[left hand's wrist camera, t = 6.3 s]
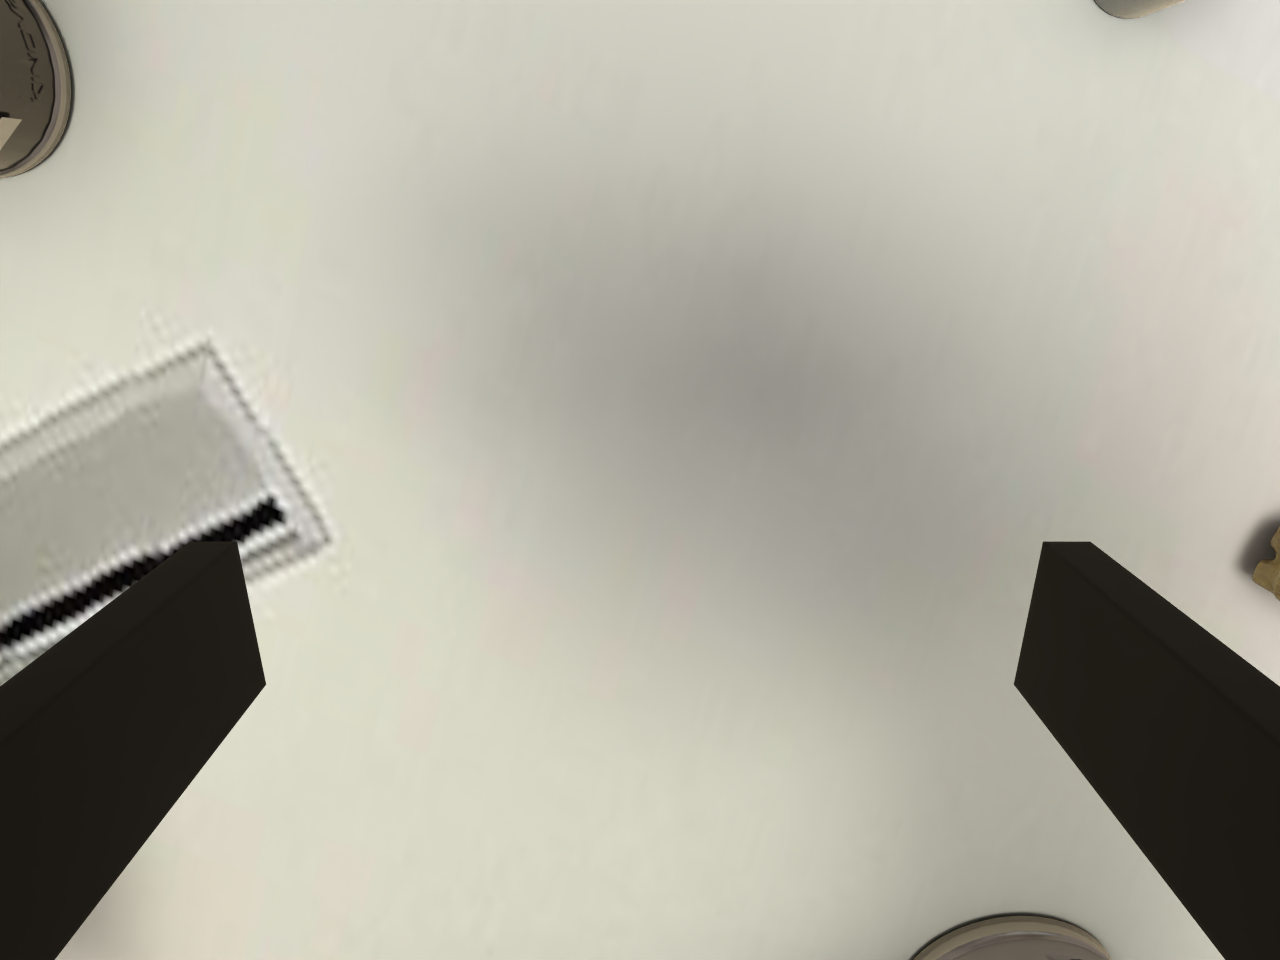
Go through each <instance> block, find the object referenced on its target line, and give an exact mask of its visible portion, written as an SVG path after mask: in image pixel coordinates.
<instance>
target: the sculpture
mask: <svg viewBox="0 0 1280 960" xmlns="http://www.w3.org/2000/svg"><path fill="white" fill-rule="evenodd" d="M1271 546H1272V547H1273V548H1274V549H1275V552H1276V558H1275V560H1269V559H1264V560H1261V561H1260V562H1259V563H1258V565H1257V567H1256V569H1255V571H1254V574H1253V577H1252V579H1253V581H1254V582H1256V583H1257V584H1258V585H1260V586H1262V587H1263V588H1265V589H1267V590H1268V591H1270V592H1272V593H1274V595H1275V596H1276V598H1277V599H1278V600H1280V526H1279V528H1278V530H1277V532H1276V533H1275V535H1274V536H1273V538H1272V540H1271Z"/></svg>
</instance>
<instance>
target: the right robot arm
mask: <svg viewBox="0 0 1280 960" xmlns="http://www.w3.org/2000/svg"><path fill="white" fill-rule="evenodd" d="M70 103H71V82H70V73H69V67H68V62H67V58H66V54H65V51H64V48H63V45H62V42H61V39H60V37H59V35H58V33H57V30H56V28H55V26H54V24H53V22H52V20H51V18H50V17H49V15H48V13H47V12H46V10H45V8H44V7H43V5H42V4H41V3H40V1H39V0H0V178H5V177H10V176H14V175H18V174H20V173H23V172H25V171H28V170H29V169H31V168H33V167H35V166H36V165H38V164H39V163H40V162H42V161H43V160H44V159H45V158H46V157H47V156H48V155H49V154H50V153H51V152H52V150H53V149H54V148H55V146H56V145H57V143H58V142H59V140H60V138H61V136H62V134H63V132H64V129H65V126H66V123H67V120H68V116H69V111H70Z"/></svg>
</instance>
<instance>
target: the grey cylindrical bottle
mask: <svg viewBox="0 0 1280 960" xmlns="http://www.w3.org/2000/svg"><path fill="white" fill-rule="evenodd" d="M1183 1H1186V0H1095V2H1096V3H1097V4H1098V5H1099V6H1100V7H1101V8H1102V9H1103V10H1104V11H1106V12H1107V13H1109V14H1111V15H1113V16H1116V17H1120V18H1138V17H1142V16H1146V15H1148V14H1151V13H1154V12H1156V11H1159V10H1162V9H1164V8H1167V7H1170V6H1173V5H1175V4H1178V3H1181V2H1183Z"/></svg>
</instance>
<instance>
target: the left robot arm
mask: <svg viewBox="0 0 1280 960" xmlns="http://www.w3.org/2000/svg"><path fill="white" fill-rule="evenodd" d="M265 685H266V682H265V677H264V672H263V667H262V662H261V657H260V652H259V648H258V643H257V638H256V633H255V628H254V623H253V618H252V613H251V608H250V604H249V599H248V594H247V589H246V584H245V579H244V574H243V569H242V564H241V560H240V555H239V550H238V545H237V542H189V543H188V544H186V545H185V546H184V547H182V548H181V549H180V550H178V551H177V552H176V553H174V554H173V555H172V556H171V557H169V558H168V559H167V560H165V561H164V562H163V563H161V564H160V565H159V566H157V567H156V568H155V569H154V570H152V571H151V572H150V573H148V574H147V575H146V576H144V577H143V578H142V579H140V580H139V581H138V582H137V583H135V584H134V585H133V586H131V587H130V588H129V589H127V590H126V591H125V592H123V593H122V594H121V595H120V596H118V597H117V598H116V599H114V600H113V601H112V602H110V603H109V604H108V605H106V606H105V607H104V608H102V609H101V610H100V611H99V612H97V613H96V614H95V615H93V616H92V617H91V618H89V619H88V620H87V621H85V622H84V623H83V624H82V625H80V626H79V627H78V628H76V629H75V630H74V631H72V632H71V633H70V634H68V635H67V636H66V637H65V638H63V639H62V640H61V641H59V642H58V643H57V644H55V645H54V646H53V647H51V648H50V649H49V650H48V651H46V652H45V653H44V654H42V655H41V656H40V657H38V658H37V659H36V660H34V661H33V662H32V663H31V664H29V665H28V666H27V667H25V668H24V669H23V670H21V671H20V672H19V673H17V674H16V675H15V676H14V677H12V678H11V679H10V680H8V681H7V682H6V683H4V684H3V685H2V686H0V960H55V959H56V957H57V956H58V955H59V953H60V952H61V951H62V949H63V948H64V947H65V946H66V944H67V943H68V942H69V940H70V939H71V938H72V936H73V935H74V934H75V933H76V931H77V930H78V929H79V927H80V926H81V925H82V923H83V922H84V921H85V920H86V918H87V917H88V916H89V914H90V913H91V912H92V910H93V909H94V908H95V907H96V905H97V904H98V903H99V901H100V900H101V899H102V897H103V896H104V895H105V894H106V892H107V891H108V890H109V888H110V887H111V886H112V884H113V883H114V882H115V880H116V879H117V878H118V877H119V875H120V874H121V873H122V871H123V870H124V869H125V867H126V866H127V865H128V864H129V862H130V861H131V860H132V858H133V857H134V856H135V854H136V853H137V852H138V851H139V849H140V848H141V847H142V845H143V844H144V843H145V841H146V840H147V839H148V838H149V836H150V835H151V834H152V832H153V831H154V830H155V828H156V827H157V826H158V825H159V823H160V822H161V821H162V819H163V818H164V817H165V815H166V814H167V813H168V811H169V810H170V809H171V808H172V806H173V805H174V804H175V802H176V801H177V800H178V798H179V797H180V796H181V795H182V793H183V792H184V791H185V789H186V788H187V787H188V785H189V784H190V783H191V782H192V780H193V779H194V778H195V776H196V775H197V774H198V772H199V771H200V770H201V769H202V767H203V766H204V765H205V763H206V762H207V761H208V759H209V758H210V757H211V756H212V754H213V753H214V752H215V750H216V749H217V748H218V746H219V745H220V744H221V743H222V741H223V740H224V739H225V737H226V736H227V735H228V733H229V732H230V731H231V729H232V728H233V727H234V726H235V724H236V723H237V722H238V720H239V719H240V718H241V716H242V715H243V714H244V713H245V711H246V710H247V709H248V707H249V706H250V705H251V703H252V702H253V701H254V700H255V698H256V697H257V696H258V694H259V693H260V692H261V690H262V689H263V688H264V687H265ZM1014 685H1015V687H1016V688H1017V689H1018V690H1019V692H1020V693H1021V694H1022V696H1023V697H1024V698H1025V700H1026V701H1027V702H1028V703H1029V705H1030V706H1031V707H1032V709H1033V710H1034V711H1035V713H1036V714H1037V715H1038V716H1039V718H1040V719H1041V720H1042V722H1043V723H1044V724H1045V726H1046V727H1047V728H1048V729H1049V731H1050V732H1051V733H1052V735H1053V736H1054V737H1055V739H1056V740H1057V741H1058V743H1059V744H1060V745H1061V746H1062V748H1063V749H1064V750H1065V752H1066V753H1067V754H1068V756H1069V757H1070V758H1071V759H1072V761H1073V762H1074V763H1075V765H1076V766H1077V767H1078V769H1079V770H1080V771H1081V772H1082V774H1083V775H1084V776H1085V778H1086V779H1087V780H1088V782H1089V783H1090V784H1091V785H1092V787H1093V788H1094V789H1095V791H1096V792H1097V793H1098V795H1099V796H1100V797H1101V798H1102V800H1103V801H1104V802H1105V804H1106V805H1107V806H1108V808H1109V809H1110V810H1111V811H1112V813H1113V814H1114V815H1115V817H1116V818H1117V819H1118V821H1119V822H1120V823H1121V825H1122V826H1123V827H1124V828H1125V830H1126V831H1127V832H1128V834H1129V835H1130V836H1131V838H1132V839H1133V840H1134V841H1135V843H1136V844H1137V845H1138V847H1139V848H1140V849H1141V851H1142V852H1143V853H1144V854H1145V856H1146V857H1147V858H1148V860H1149V861H1150V862H1151V864H1152V865H1153V866H1154V867H1155V869H1156V870H1157V871H1158V873H1159V874H1160V875H1161V877H1162V878H1163V879H1164V880H1165V882H1166V883H1167V884H1168V886H1169V887H1170V888H1171V890H1172V891H1173V892H1174V894H1175V895H1176V896H1177V897H1178V899H1179V900H1180V901H1181V903H1182V904H1183V905H1184V907H1185V908H1186V909H1187V910H1188V912H1189V913H1190V914H1191V916H1192V917H1193V918H1194V920H1195V921H1196V922H1197V923H1198V925H1199V926H1200V927H1201V929H1202V930H1203V931H1204V933H1205V934H1206V935H1207V936H1208V938H1209V939H1210V940H1211V942H1212V943H1213V944H1214V946H1215V947H1216V948H1217V949H1218V951H1219V952H1220V953H1221V955H1222V956H1223V957H1224V959H1225V960H1280V686H1278V685H1277V684H1276V683H1274V682H1273V681H1272V680H1270V679H1269V678H1268V677H1266V676H1265V675H1264V674H1263V673H1261V672H1260V671H1259V670H1257V669H1256V668H1255V667H1253V666H1252V665H1251V664H1249V663H1248V662H1247V661H1246V660H1244V659H1243V658H1242V657H1240V656H1239V655H1238V654H1236V653H1235V652H1234V651H1232V650H1231V649H1230V648H1229V647H1227V646H1226V645H1225V644H1223V643H1222V642H1221V641H1219V640H1218V639H1217V638H1215V637H1214V636H1213V635H1212V634H1210V633H1209V632H1208V631H1206V630H1205V629H1204V628H1202V627H1201V626H1200V625H1198V624H1197V623H1196V622H1195V621H1193V620H1192V619H1191V618H1189V617H1188V616H1187V615H1185V614H1184V613H1183V612H1181V611H1180V610H1179V609H1178V608H1176V607H1175V606H1174V605H1172V604H1171V603H1170V602H1168V601H1167V600H1166V599H1164V598H1163V597H1162V596H1160V595H1159V594H1158V593H1157V592H1155V591H1154V590H1153V589H1151V588H1150V587H1149V586H1147V585H1146V584H1145V583H1143V582H1142V581H1141V580H1140V579H1138V578H1137V577H1136V576H1134V575H1133V574H1132V573H1130V572H1129V571H1128V570H1126V569H1125V568H1124V567H1123V566H1121V565H1120V564H1119V563H1117V562H1116V561H1115V560H1113V559H1112V558H1111V557H1109V556H1108V555H1107V554H1106V553H1104V552H1103V551H1102V550H1100V549H1099V548H1098V547H1096V546H1095V545H1094V544H1092V543H1091V542H1043V545H1042V550H1041V555H1040V560H1039V564H1038V569H1037V574H1036V579H1035V584H1034V589H1033V594H1032V599H1031V604H1030V608H1029V613H1028V618H1027V623H1026V628H1025V633H1024V638H1023V643H1022V648H1021V652H1020V657H1019V662H1018V667H1017V672H1016V677H1015V682H1014ZM913 960H1112V959H1111V958H1110V956H1109V954H1108V953H1107V951H1106V950H1105V948H1104V947H1103V946H1102V945H1101V944H1100V943H1099V942H1098V941H1097V940H1096V939H1095V938H1094V937H1092V936H1091V935H1090V934H1088V933H1087V932H1085V931H1083V930H1082V929H1080V928H1078V927H1075V926H1073V925H1071V924H1068V923H1065V922H1062V921H1059V920H1055V919H1051V918H1044V917H1036V916H1007V917H999V918H993V919H988V920H983V921H980V922H976V923H973V924H970V925H967V926H964V927H961V928H959V929H957V930H954V931H952V932H950V933H948V934H946V935H944V936H943V937H941V938H939V939H938V940H936V941H934V942H933V943H931V944H930V945H929V946H928V947H926V948H925V949H924V950H922V951H921V952H920V953H919V954H918V955H917V956H916V957H915V958H914V959H913Z"/></svg>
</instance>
